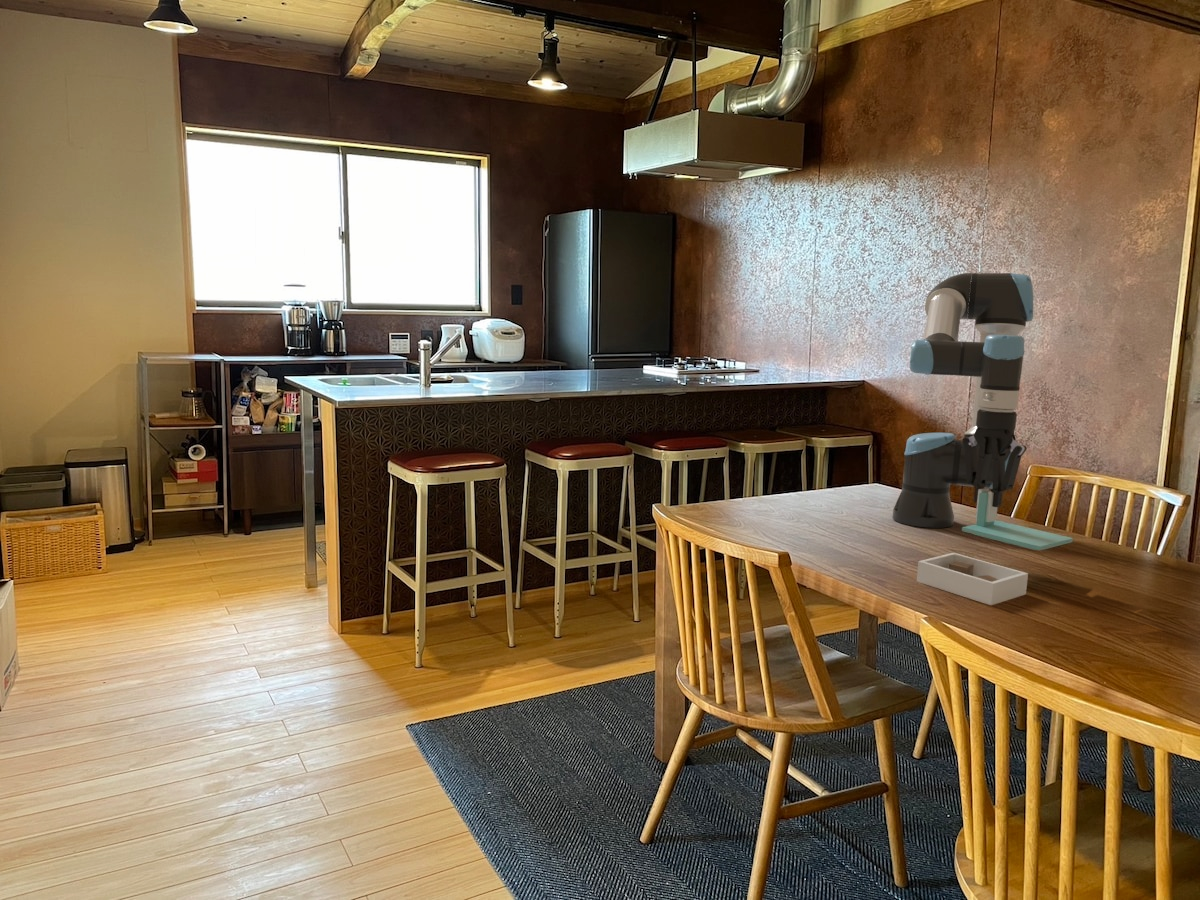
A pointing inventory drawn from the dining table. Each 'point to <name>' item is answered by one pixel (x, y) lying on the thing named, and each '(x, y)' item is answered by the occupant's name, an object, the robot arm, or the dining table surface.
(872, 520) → the dining table surface
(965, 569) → the walnut block
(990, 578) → the walnut block
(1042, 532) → the lid
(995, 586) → the tub
